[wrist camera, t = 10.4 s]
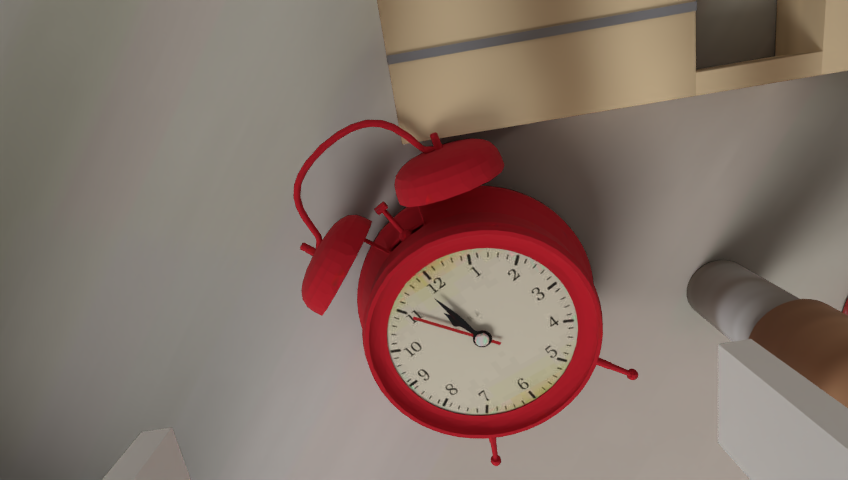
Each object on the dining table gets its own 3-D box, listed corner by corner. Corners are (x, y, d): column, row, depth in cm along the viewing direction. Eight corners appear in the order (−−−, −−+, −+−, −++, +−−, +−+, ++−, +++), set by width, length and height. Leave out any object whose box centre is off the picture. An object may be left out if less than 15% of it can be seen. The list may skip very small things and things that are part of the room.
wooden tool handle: (681, 327, 23) (925, 559, 12) (679, 259, 22) (945, 442, 11) (754, 316, 23) (1077, 542, 12) (756, 248, 22) (1110, 420, 11)
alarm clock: (477, 499, 22) (190, 310, 15) (450, 392, 27) (230, 216, 20) (684, 370, 20) (459, 76, 13) (610, 281, 25) (424, 41, 18)
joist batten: (405, 138, 21) (401, 144, 18) (378, -17, 19) (370, -33, 17) (949, 47, 20) (1025, 41, 17) (972, -127, 18) (1060, -162, 15)
